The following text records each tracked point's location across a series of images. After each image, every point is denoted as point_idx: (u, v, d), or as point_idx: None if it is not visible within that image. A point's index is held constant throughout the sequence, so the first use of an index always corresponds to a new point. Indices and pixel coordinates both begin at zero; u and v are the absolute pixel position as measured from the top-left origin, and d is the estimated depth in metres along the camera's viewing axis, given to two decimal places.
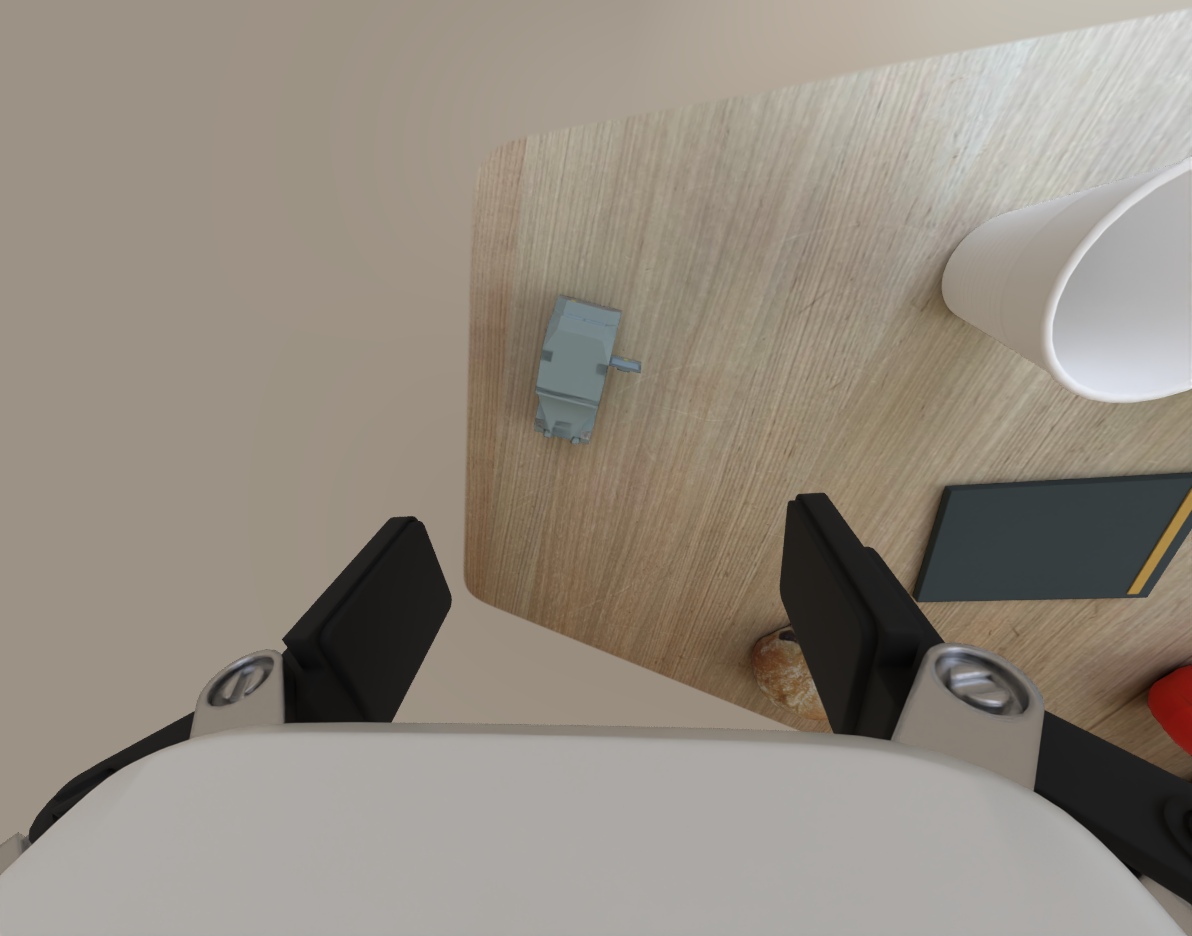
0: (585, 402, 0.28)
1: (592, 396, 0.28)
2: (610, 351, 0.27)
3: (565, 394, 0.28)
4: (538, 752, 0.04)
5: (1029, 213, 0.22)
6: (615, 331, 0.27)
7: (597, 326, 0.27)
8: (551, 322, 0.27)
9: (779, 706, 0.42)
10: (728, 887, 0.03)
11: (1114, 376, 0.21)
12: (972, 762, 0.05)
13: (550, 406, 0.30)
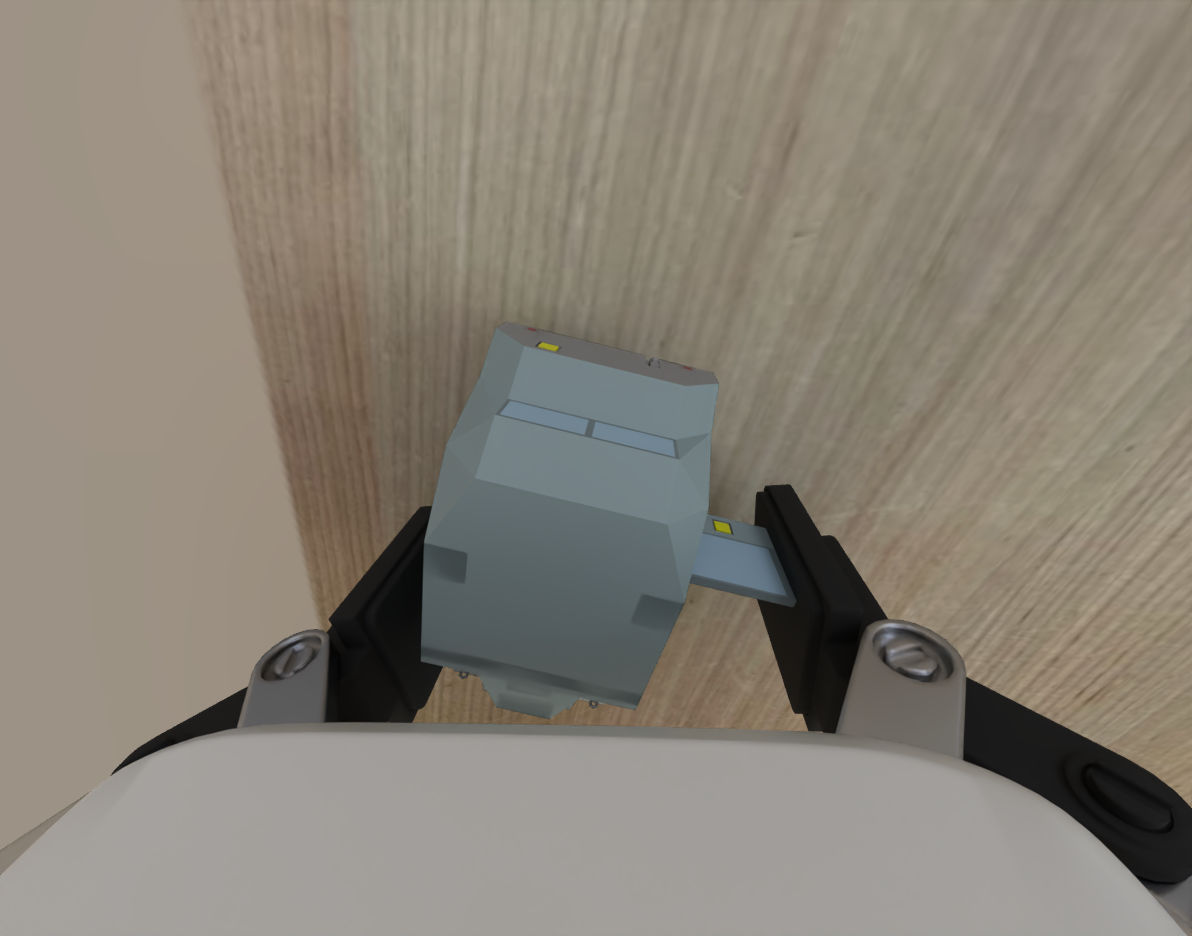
0: (596, 690, 0.08)
1: (619, 680, 0.08)
2: (693, 551, 0.07)
3: (524, 670, 0.08)
4: (538, 752, 0.04)
5: None
6: (707, 463, 0.07)
7: (643, 456, 0.06)
8: (457, 441, 0.07)
9: None
10: (728, 887, 0.03)
11: None
12: (895, 722, 0.05)
13: None
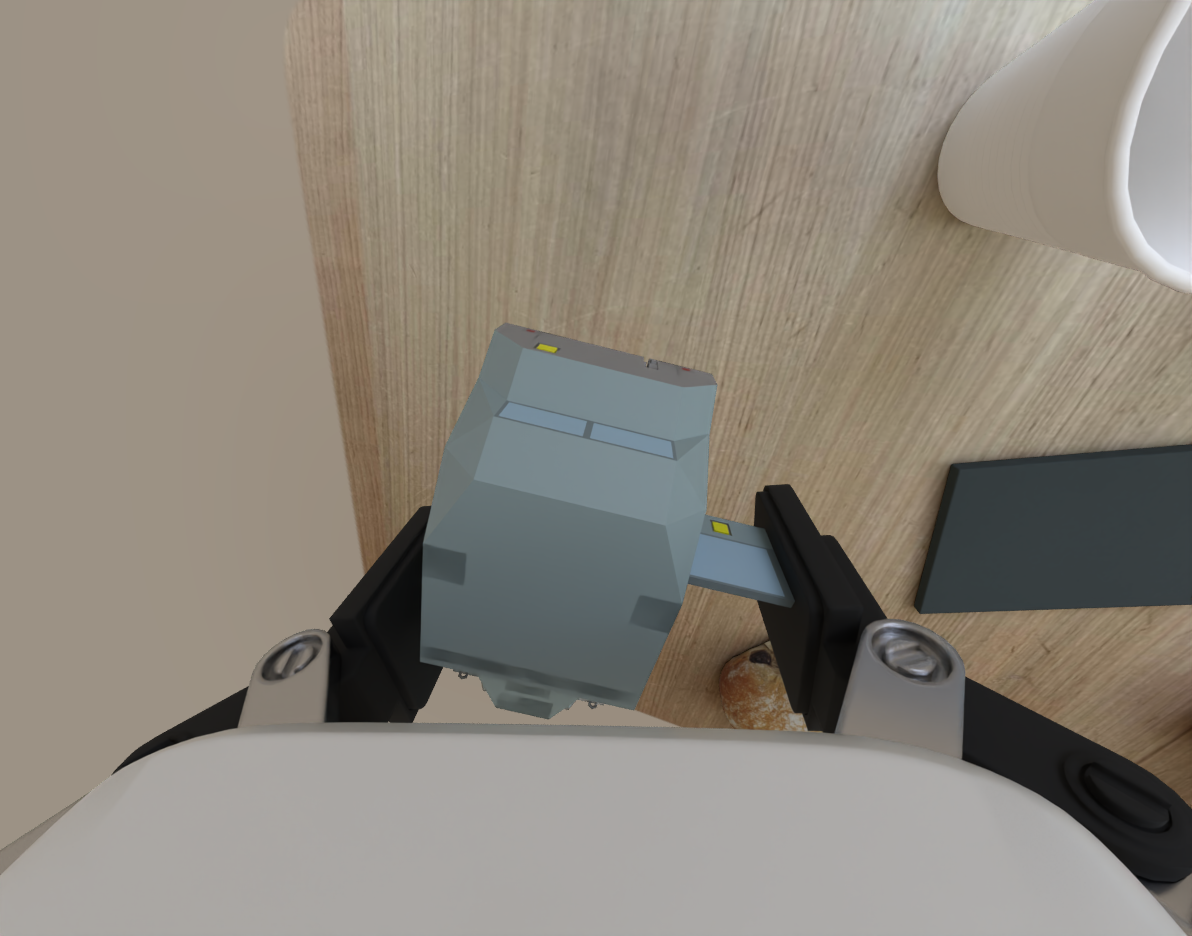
0: (594, 691, 0.08)
1: (617, 681, 0.08)
2: (691, 552, 0.07)
3: (523, 670, 0.08)
4: (538, 752, 0.04)
5: (1070, 19, 0.14)
6: (705, 464, 0.07)
7: (641, 458, 0.07)
8: (455, 442, 0.07)
9: None
10: (728, 887, 0.03)
11: None
12: (893, 722, 0.05)
13: None
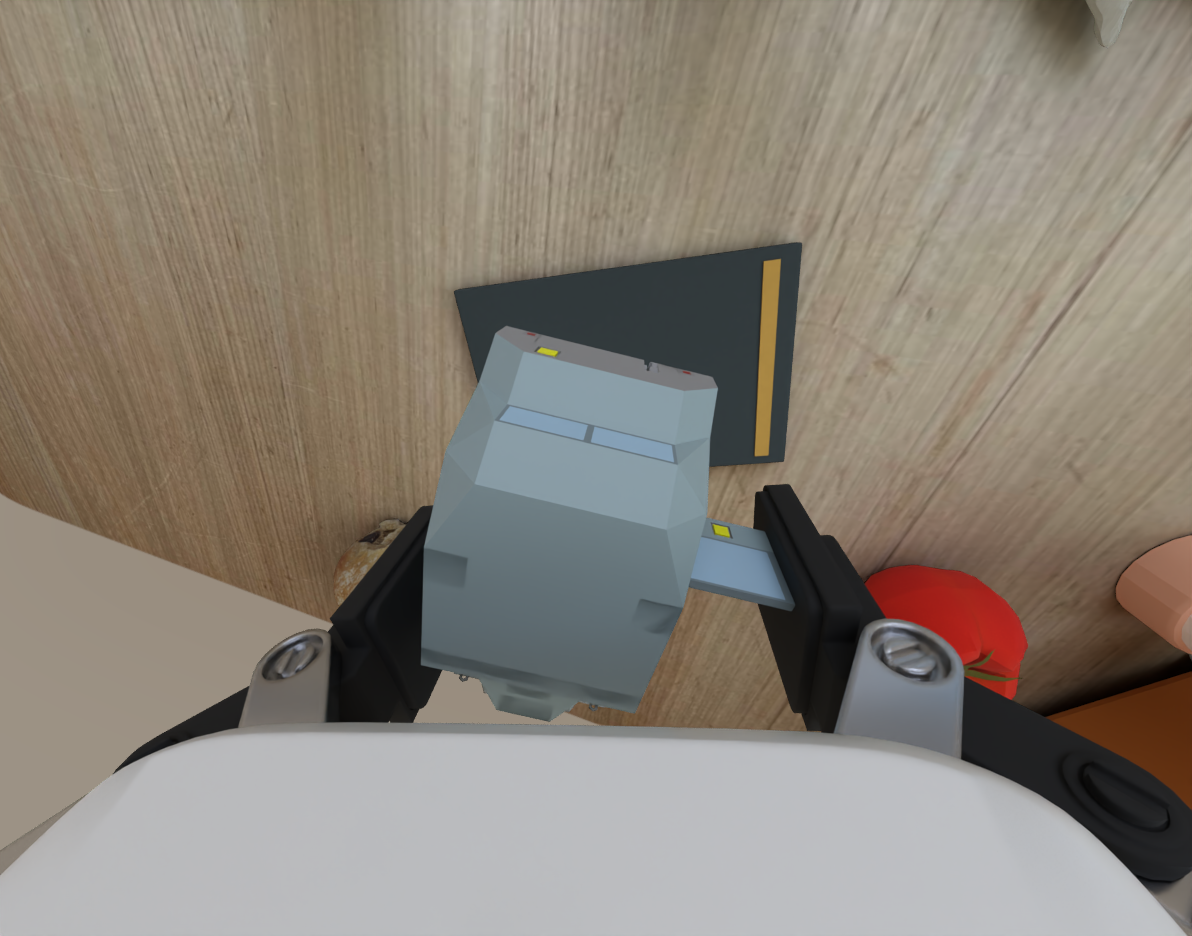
0: (596, 694, 0.08)
1: (618, 684, 0.08)
2: (692, 556, 0.07)
3: (524, 673, 0.08)
4: (538, 752, 0.04)
5: None
6: (705, 468, 0.07)
7: (641, 462, 0.07)
8: (456, 446, 0.07)
9: None
10: (728, 887, 0.03)
11: None
12: (893, 721, 0.05)
13: None
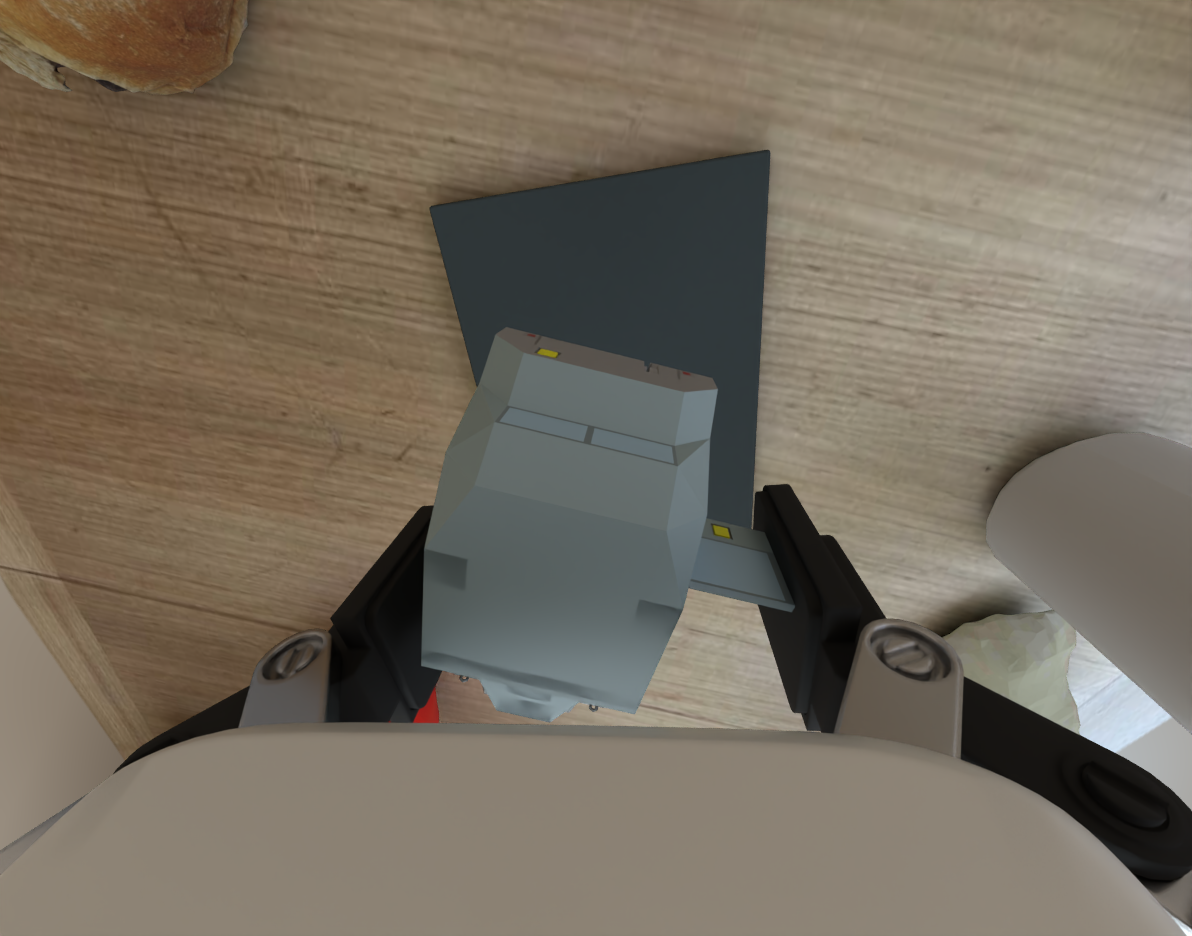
0: (596, 694, 0.08)
1: (618, 685, 0.08)
2: (692, 557, 0.07)
3: (524, 674, 0.08)
4: (538, 752, 0.04)
5: None
6: (705, 469, 0.07)
7: (642, 463, 0.07)
8: (457, 448, 0.07)
9: None
10: (728, 887, 0.03)
11: None
12: (892, 721, 0.05)
13: None
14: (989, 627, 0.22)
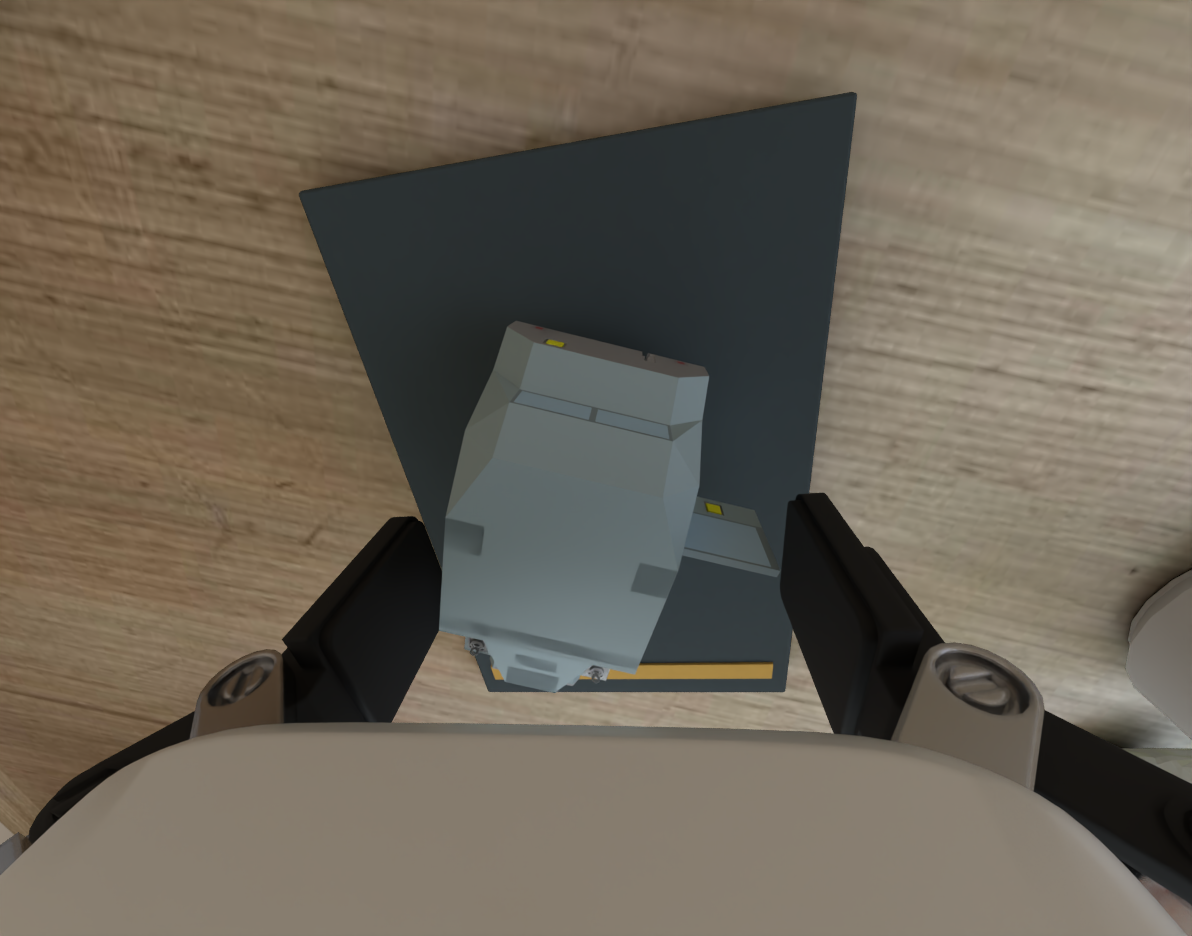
0: (598, 656, 0.09)
1: (620, 646, 0.09)
2: (686, 524, 0.08)
3: (534, 637, 0.09)
4: (538, 752, 0.04)
5: None
6: (698, 446, 0.08)
7: (640, 439, 0.07)
8: (475, 426, 0.07)
9: None
10: (728, 887, 0.03)
11: None
12: (972, 762, 0.05)
13: None
14: None
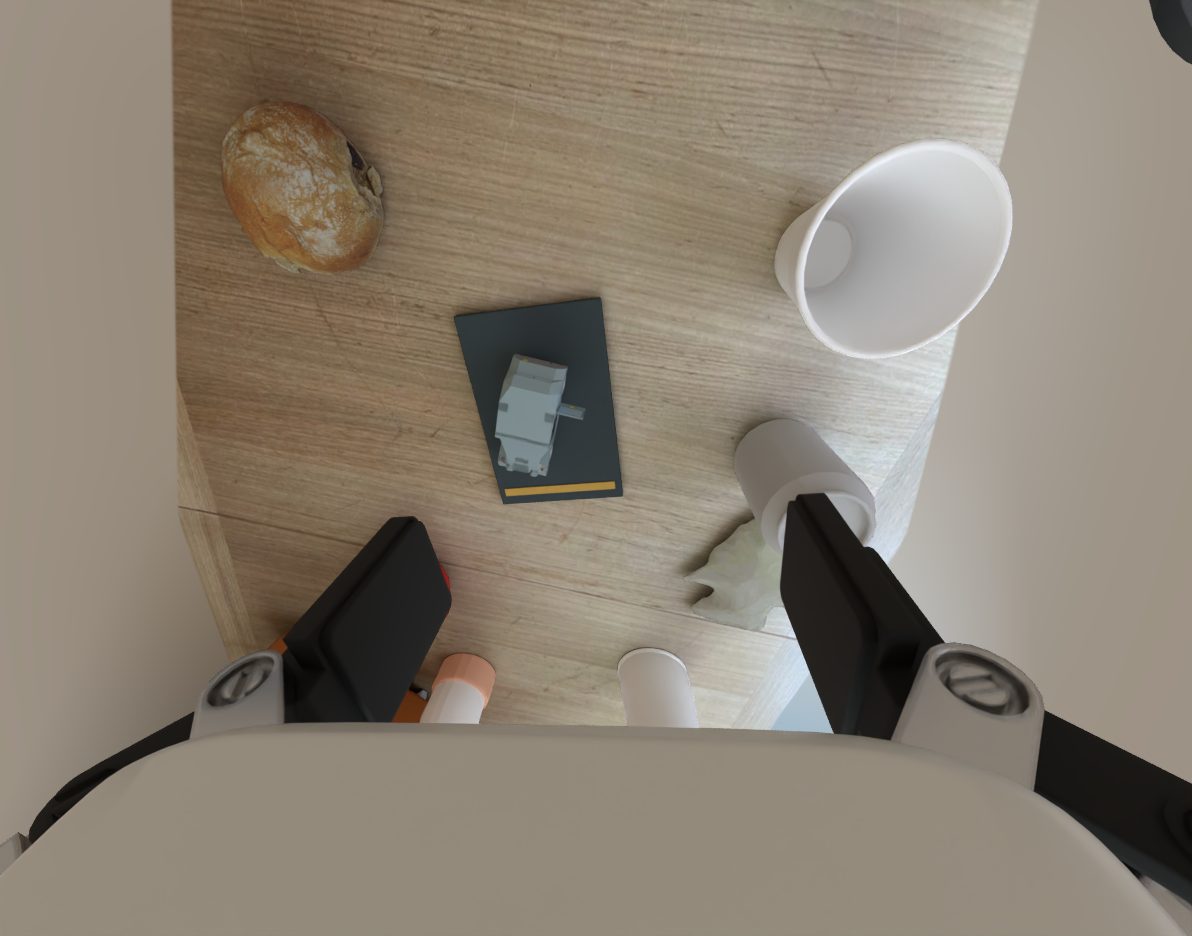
0: (538, 444, 0.34)
1: (543, 439, 0.33)
2: (555, 403, 0.32)
3: (520, 437, 0.34)
4: (538, 752, 0.04)
5: None
6: (560, 385, 0.33)
7: (544, 382, 0.32)
8: (506, 380, 0.32)
9: (226, 144, 0.27)
10: (728, 887, 0.03)
11: (793, 285, 0.24)
12: (972, 762, 0.05)
13: (509, 445, 0.36)
14: (749, 525, 0.41)
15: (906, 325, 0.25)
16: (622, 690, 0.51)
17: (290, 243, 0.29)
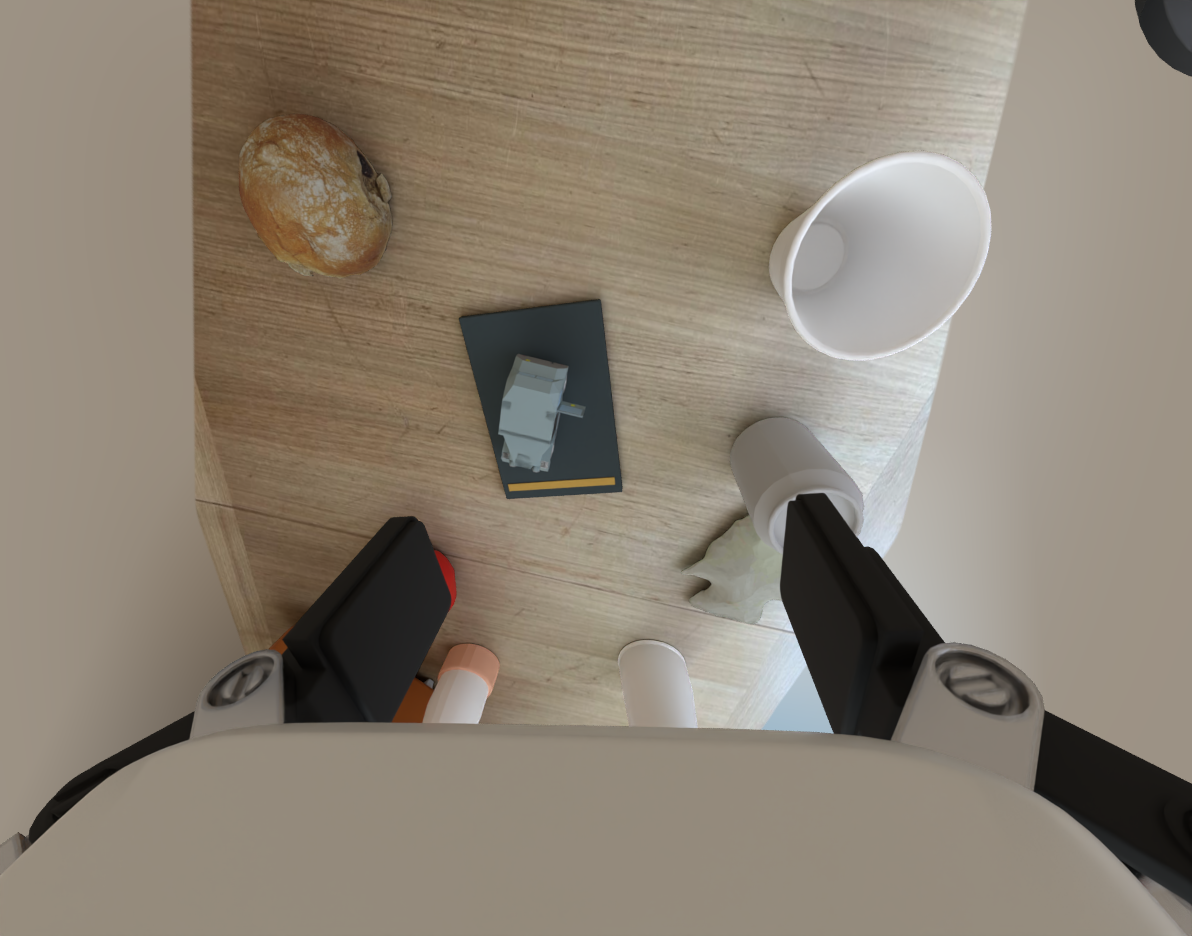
0: (539, 441, 0.35)
1: (544, 436, 0.35)
2: (556, 401, 0.34)
3: (522, 435, 0.35)
4: (538, 752, 0.04)
5: None
6: (561, 385, 0.34)
7: (545, 382, 0.33)
8: (509, 379, 0.33)
9: (243, 155, 0.28)
10: (728, 887, 0.03)
11: (783, 289, 0.25)
12: (972, 762, 0.05)
13: (512, 442, 0.37)
14: (746, 520, 0.42)
15: (893, 328, 0.26)
16: (622, 680, 0.53)
17: (303, 249, 0.31)
